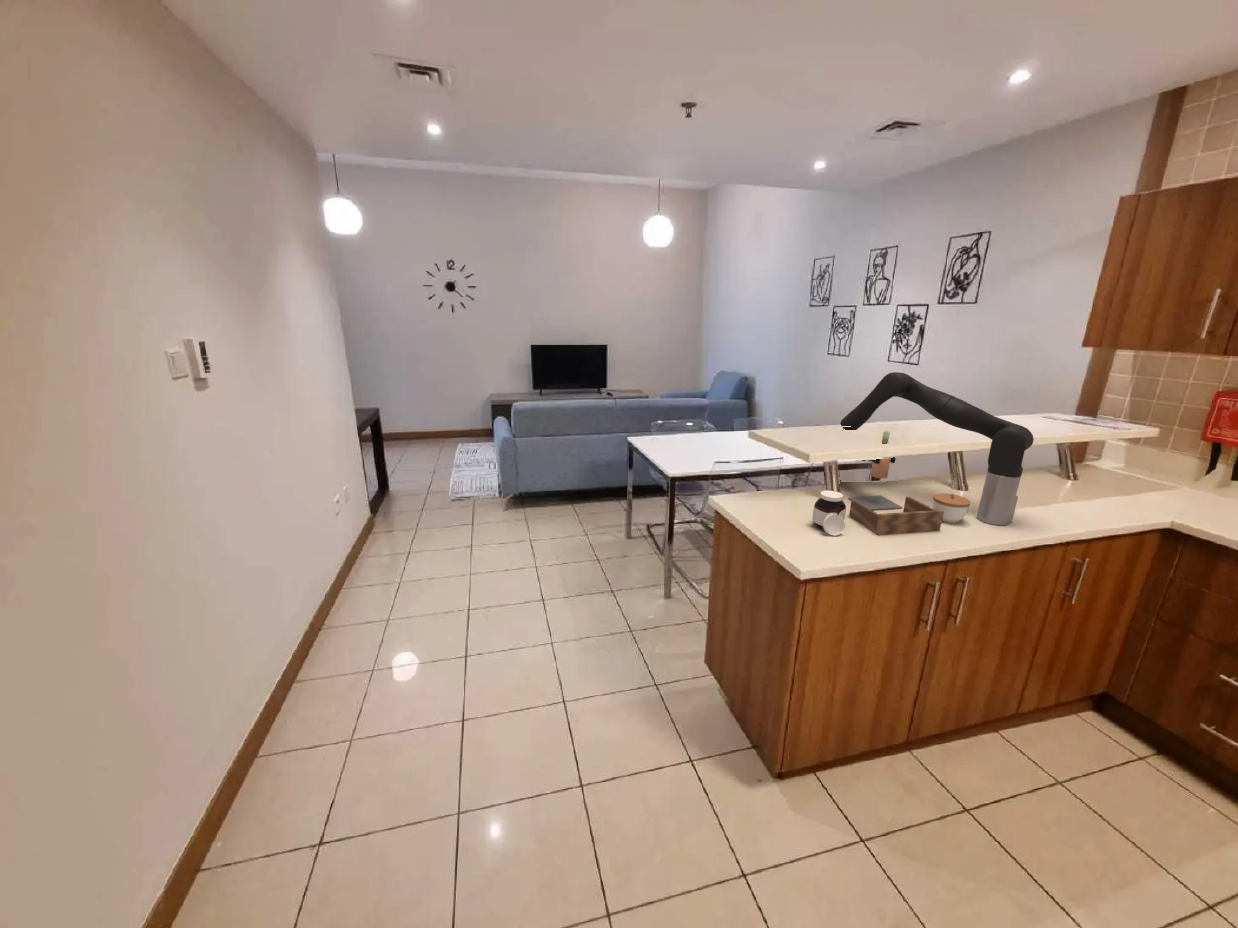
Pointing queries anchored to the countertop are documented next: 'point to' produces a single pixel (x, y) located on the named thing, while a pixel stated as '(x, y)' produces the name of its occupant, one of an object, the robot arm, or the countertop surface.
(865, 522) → the open wooden tray
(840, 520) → the spread jar
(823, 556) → the countertop surface
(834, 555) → the countertop surface
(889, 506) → the rubber mat
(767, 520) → the countertop surface
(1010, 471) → the robot arm
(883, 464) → the terracotta pot
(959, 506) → the lidded jar
